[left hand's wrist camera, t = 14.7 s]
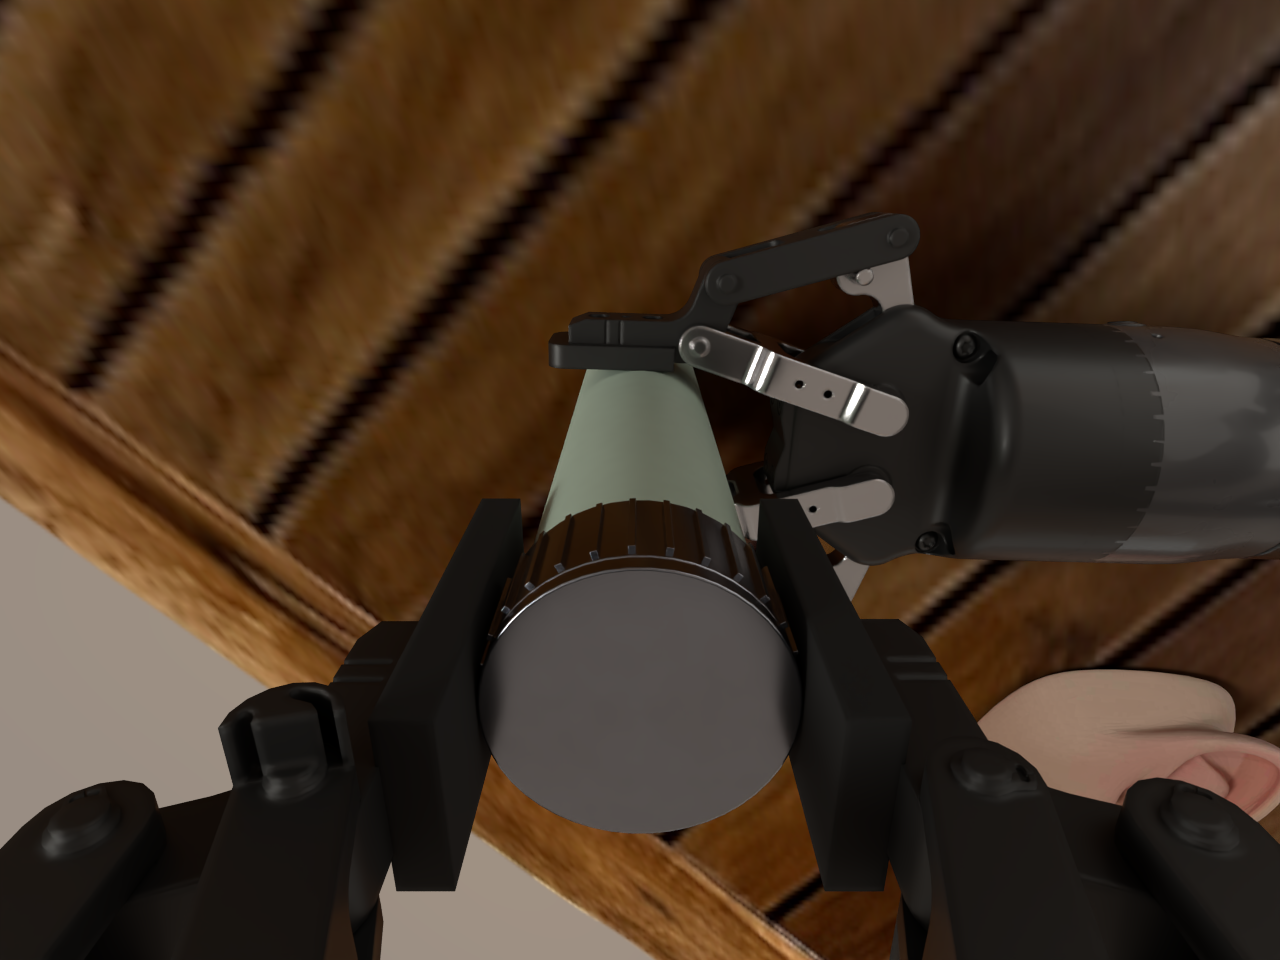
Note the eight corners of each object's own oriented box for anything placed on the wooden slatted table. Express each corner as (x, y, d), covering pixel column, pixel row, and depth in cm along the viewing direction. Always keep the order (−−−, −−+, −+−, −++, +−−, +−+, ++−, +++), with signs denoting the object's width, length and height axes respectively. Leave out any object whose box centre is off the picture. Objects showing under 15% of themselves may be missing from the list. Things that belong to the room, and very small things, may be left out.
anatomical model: (944, 889, 34) (1052, 691, 30) (914, 820, 37) (1006, 636, 33) (1202, 935, 35) (1340, 751, 31) (1148, 864, 39) (1265, 691, 34)
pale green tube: (587, 323, 28) (493, 554, 10) (697, 328, 28) (799, 567, 10) (585, 429, 30) (501, 792, 12) (690, 433, 30) (766, 801, 12)
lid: (501, 727, 13) (475, 830, 11) (499, 486, 12) (466, 553, 10) (761, 740, 14) (784, 845, 11) (797, 503, 12) (833, 573, 10)
